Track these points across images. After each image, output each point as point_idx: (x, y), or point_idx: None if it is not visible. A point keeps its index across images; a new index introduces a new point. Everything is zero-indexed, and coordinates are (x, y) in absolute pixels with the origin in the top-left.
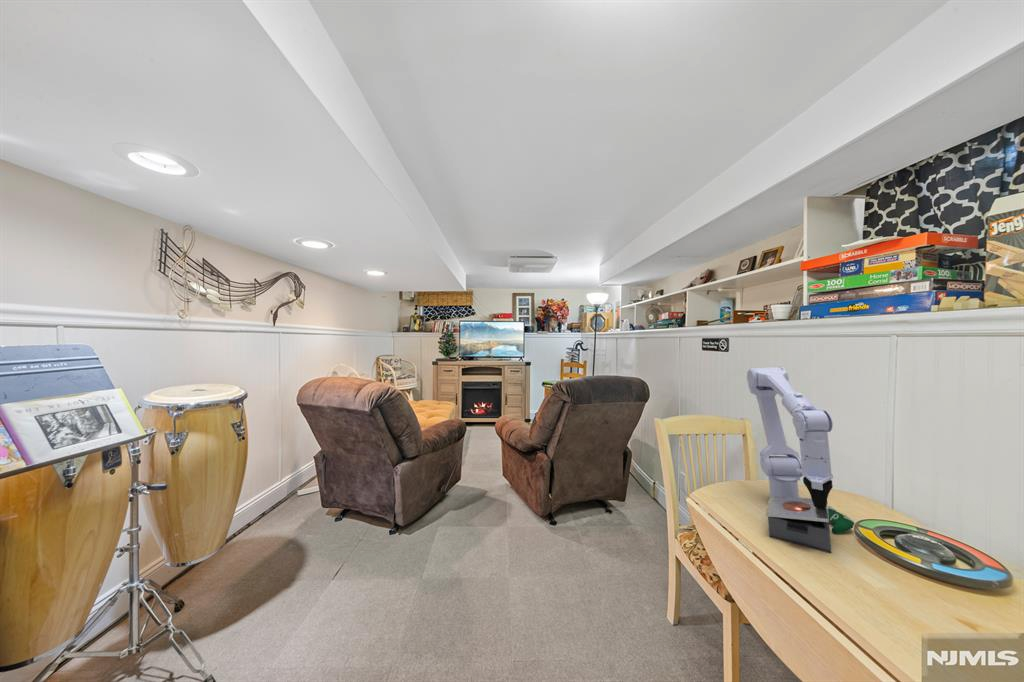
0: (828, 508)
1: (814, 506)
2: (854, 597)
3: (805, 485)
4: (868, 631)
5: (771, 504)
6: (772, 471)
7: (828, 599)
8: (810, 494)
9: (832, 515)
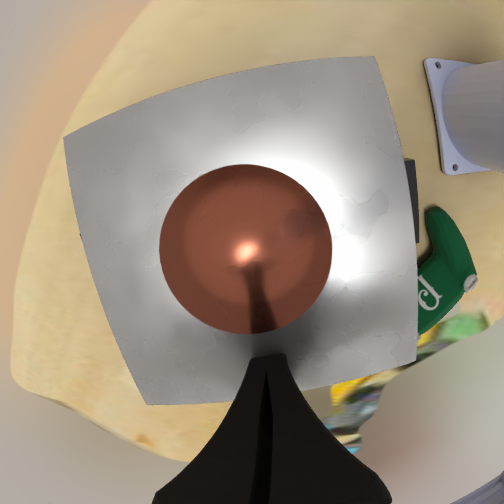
0: (464, 279)
1: (249, 361)
2: (56, 352)
3: (162, 488)
4: (16, 360)
5: (207, 100)
6: None
7: (17, 322)
8: (221, 425)
9: (435, 287)
